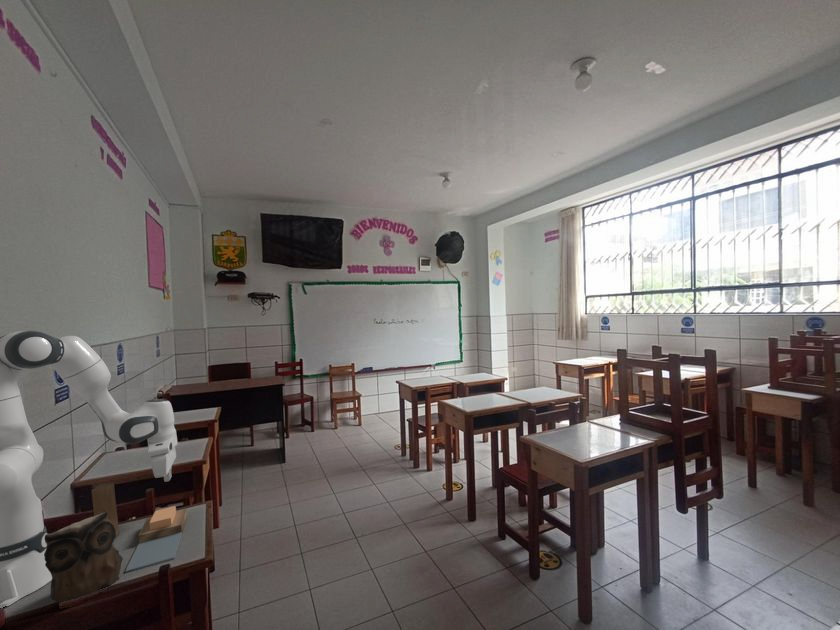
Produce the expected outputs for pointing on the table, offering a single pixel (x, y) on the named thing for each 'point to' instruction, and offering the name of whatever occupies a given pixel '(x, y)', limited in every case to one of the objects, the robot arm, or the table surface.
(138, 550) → the mat
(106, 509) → the wooden block
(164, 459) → the robot arm
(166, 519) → the tile
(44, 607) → the table surface
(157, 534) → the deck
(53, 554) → the owl
